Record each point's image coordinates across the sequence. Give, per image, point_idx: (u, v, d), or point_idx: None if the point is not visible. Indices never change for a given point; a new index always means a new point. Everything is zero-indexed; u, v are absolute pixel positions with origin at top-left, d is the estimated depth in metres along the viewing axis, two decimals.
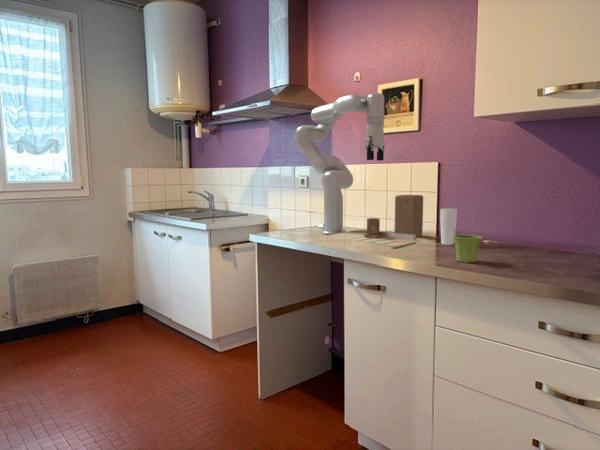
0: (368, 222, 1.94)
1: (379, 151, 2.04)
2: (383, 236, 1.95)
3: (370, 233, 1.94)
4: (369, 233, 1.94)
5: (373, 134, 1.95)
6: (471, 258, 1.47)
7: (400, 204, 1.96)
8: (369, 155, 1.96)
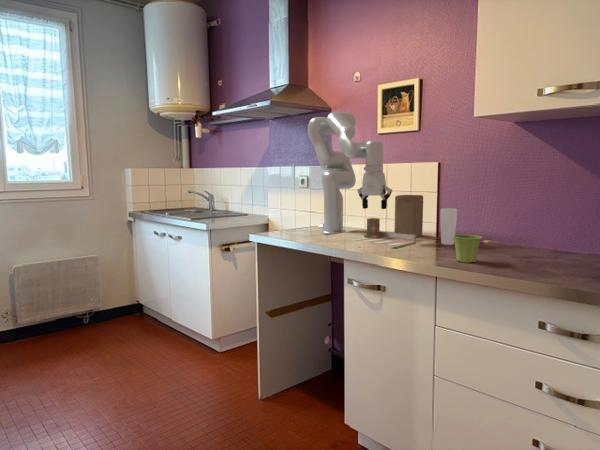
0: (368, 222, 1.94)
1: (365, 199, 1.96)
2: (383, 236, 1.95)
3: (370, 233, 1.94)
4: (369, 233, 1.94)
5: (385, 183, 1.90)
6: (471, 258, 1.47)
7: (400, 204, 1.96)
8: (386, 204, 1.90)
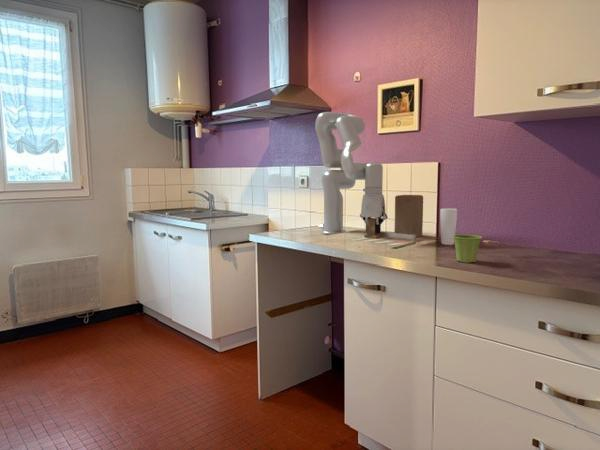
0: (368, 222, 1.94)
1: None
2: (383, 236, 1.95)
3: (370, 233, 1.94)
4: (369, 233, 1.94)
5: (384, 205, 1.92)
6: (471, 258, 1.47)
7: (400, 204, 1.96)
8: (379, 228, 1.93)
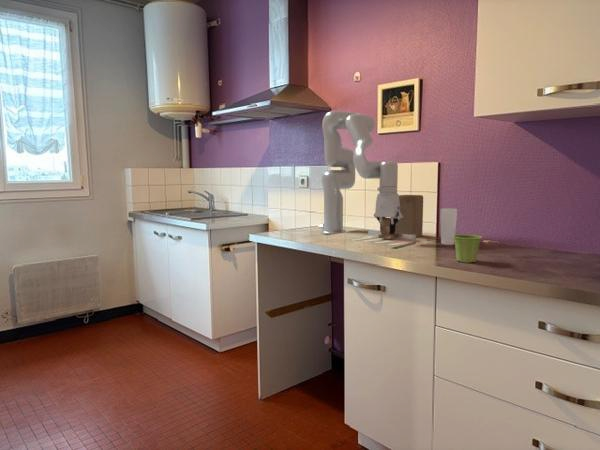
0: (382, 222, 1.89)
1: None
2: None
3: (385, 233, 1.89)
4: (383, 233, 1.89)
5: (399, 204, 1.87)
6: (471, 258, 1.47)
7: (400, 204, 1.96)
8: (394, 228, 1.88)
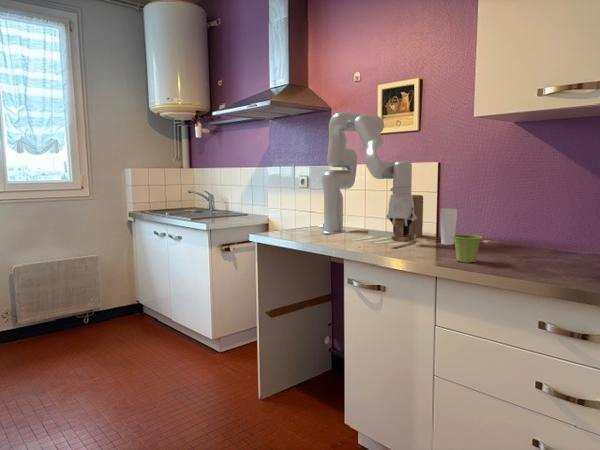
0: (396, 223, 1.85)
1: None
2: (383, 236, 1.95)
3: (398, 235, 1.85)
4: (397, 235, 1.85)
5: (413, 205, 1.82)
6: (471, 258, 1.47)
7: None
8: (408, 230, 1.84)
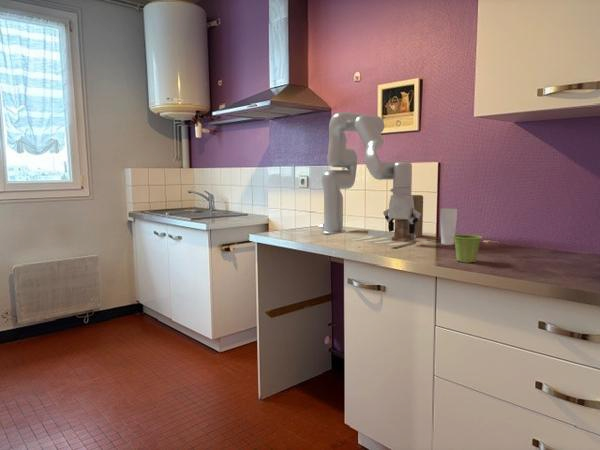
0: (396, 224, 1.85)
1: (391, 221, 1.88)
2: (383, 236, 1.95)
3: (398, 236, 1.85)
4: (397, 236, 1.85)
5: (413, 206, 1.82)
6: (471, 258, 1.47)
7: None
8: (414, 228, 1.82)
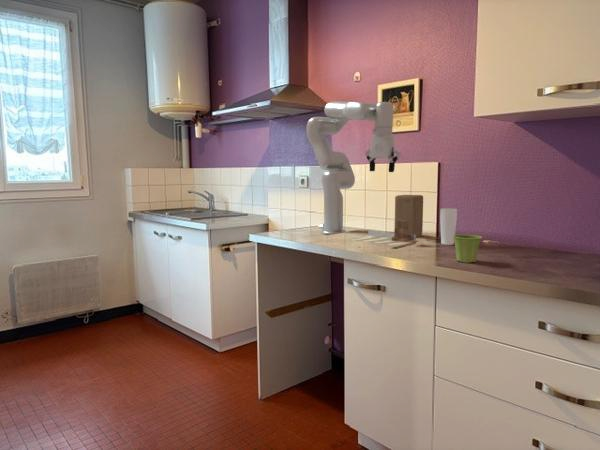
0: (396, 224, 1.85)
1: (372, 161, 1.95)
2: (383, 236, 1.95)
3: (398, 236, 1.85)
4: (397, 236, 1.85)
5: (394, 145, 1.89)
6: (471, 258, 1.47)
7: (400, 204, 1.96)
8: (393, 167, 1.88)
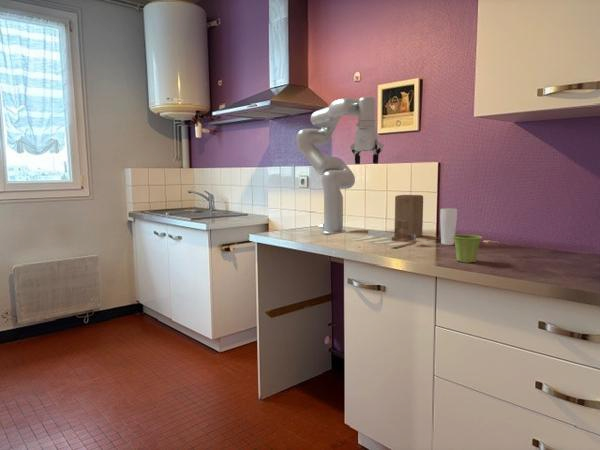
0: (396, 224, 1.85)
1: (357, 154, 2.02)
2: (383, 236, 1.95)
3: (398, 236, 1.85)
4: (397, 236, 1.85)
5: (377, 138, 1.96)
6: (471, 258, 1.47)
7: (400, 204, 1.96)
8: (377, 159, 1.96)
